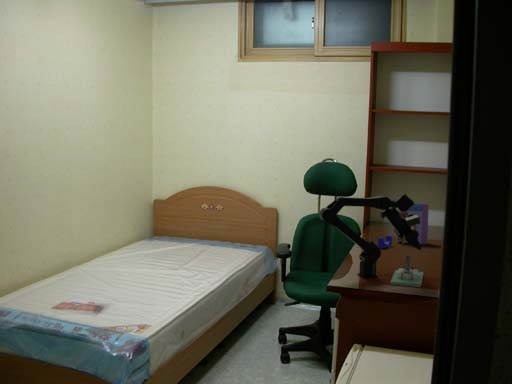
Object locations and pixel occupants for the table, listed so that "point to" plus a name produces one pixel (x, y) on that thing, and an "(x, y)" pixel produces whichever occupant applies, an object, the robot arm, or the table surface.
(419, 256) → the table surface
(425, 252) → the table surface
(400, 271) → the heat sink
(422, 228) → the cereal box
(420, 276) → the circuit board
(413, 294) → the table surface
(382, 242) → the cable clip
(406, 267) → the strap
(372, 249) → the robot arm
